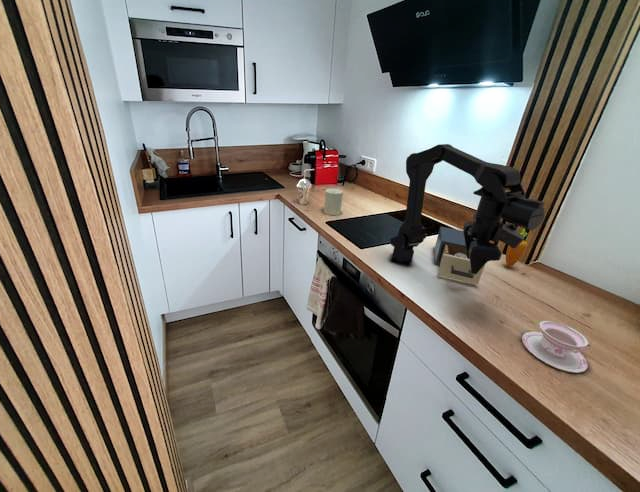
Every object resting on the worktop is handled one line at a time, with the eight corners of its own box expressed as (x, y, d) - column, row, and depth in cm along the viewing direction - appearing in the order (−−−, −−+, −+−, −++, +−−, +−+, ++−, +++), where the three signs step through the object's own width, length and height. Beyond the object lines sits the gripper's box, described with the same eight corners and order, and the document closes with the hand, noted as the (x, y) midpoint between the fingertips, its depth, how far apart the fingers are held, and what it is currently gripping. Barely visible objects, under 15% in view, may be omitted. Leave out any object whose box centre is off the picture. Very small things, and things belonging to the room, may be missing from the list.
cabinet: (475, 273, 100) (484, 249, 96) (434, 264, 105) (441, 240, 101) (470, 255, 111) (478, 233, 107) (434, 248, 116) (440, 226, 112)
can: (321, 213, 147) (323, 191, 142) (324, 207, 155) (326, 186, 151) (339, 216, 145) (342, 193, 140) (341, 210, 153) (344, 188, 148)
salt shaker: (451, 270, 98) (455, 256, 95) (450, 264, 101) (455, 251, 98) (463, 272, 96) (468, 258, 94) (462, 267, 99) (467, 253, 97)
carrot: (510, 271, 101) (525, 234, 95) (496, 264, 106) (511, 228, 100) (520, 270, 103) (536, 232, 97) (506, 262, 107) (521, 226, 101)
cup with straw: (302, 199, 167) (304, 165, 159) (314, 203, 162) (317, 168, 153) (292, 202, 162) (294, 167, 154) (304, 206, 156) (307, 170, 148)
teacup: (523, 356, 67) (533, 337, 65) (519, 326, 77) (527, 308, 74) (593, 383, 61) (607, 363, 59) (579, 347, 71) (591, 328, 68)
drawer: (479, 291, 89) (487, 270, 85) (437, 281, 93) (444, 260, 90) (472, 266, 102) (479, 246, 99) (437, 258, 107) (442, 239, 104)
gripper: (538, 234, 64) (514, 291, 70) (516, 209, 80) (498, 257, 86) (480, 225, 69) (462, 279, 75) (470, 202, 84) (456, 249, 90)
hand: (471, 265), depth 81 cm, fingers open, 9 cm apart
